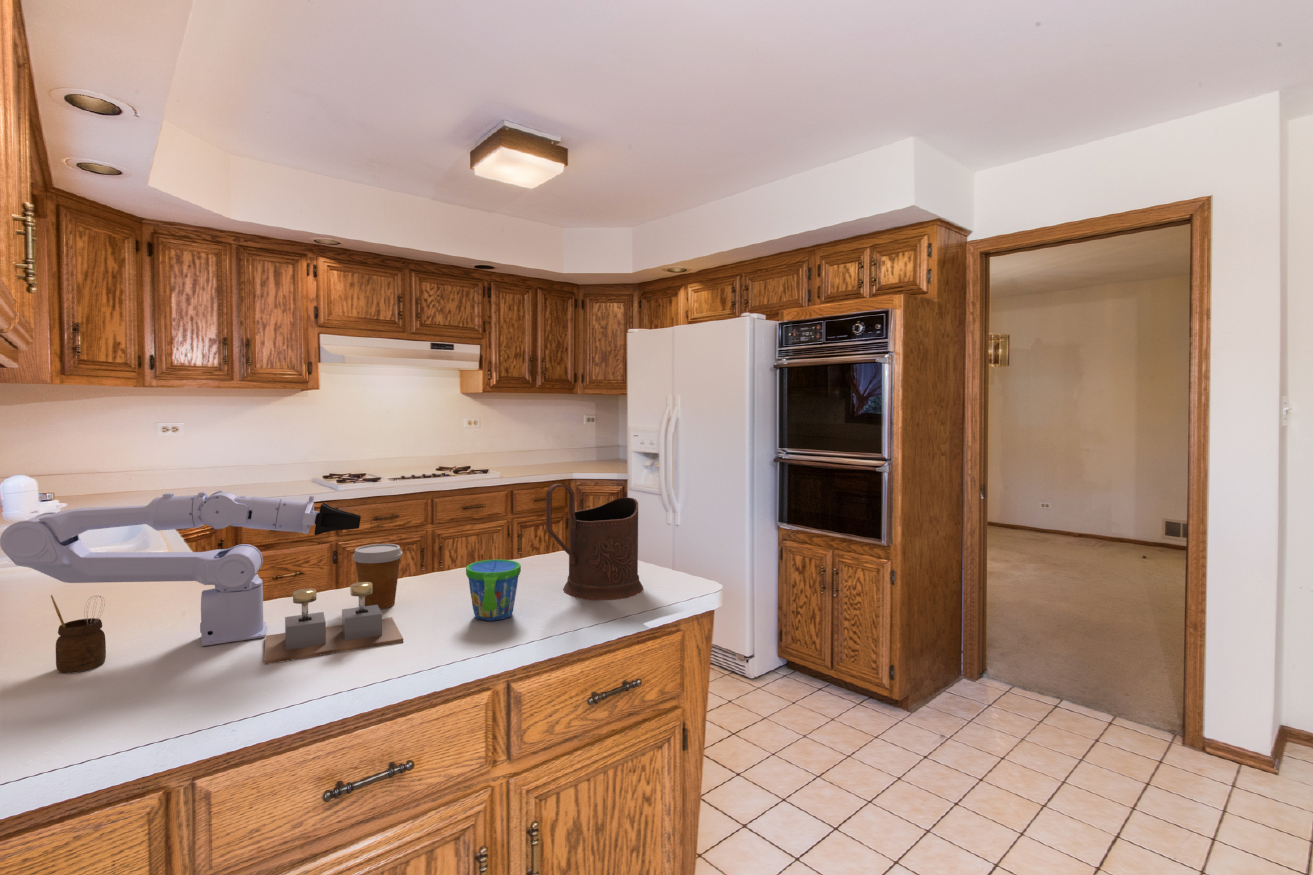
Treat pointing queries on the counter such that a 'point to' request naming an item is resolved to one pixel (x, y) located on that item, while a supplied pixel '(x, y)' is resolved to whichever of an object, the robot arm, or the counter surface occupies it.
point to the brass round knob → (361, 593)
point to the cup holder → (600, 548)
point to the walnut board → (329, 643)
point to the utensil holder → (80, 643)
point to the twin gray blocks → (315, 627)
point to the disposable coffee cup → (379, 572)
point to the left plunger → (304, 600)
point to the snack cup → (493, 588)
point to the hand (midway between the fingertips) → (360, 521)
